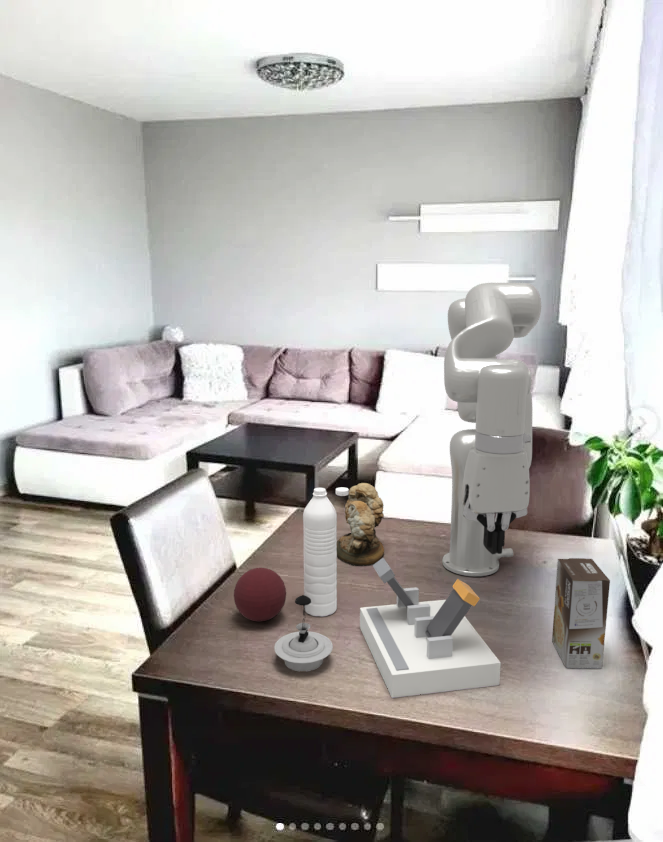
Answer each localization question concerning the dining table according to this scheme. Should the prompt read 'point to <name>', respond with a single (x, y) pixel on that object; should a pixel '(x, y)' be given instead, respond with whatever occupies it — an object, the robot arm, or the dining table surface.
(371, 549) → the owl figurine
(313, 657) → the gray round rimmed fixture
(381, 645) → the box
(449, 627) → the lever
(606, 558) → the dining table surface
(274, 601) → the decorative ball
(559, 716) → the dining table surface
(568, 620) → the coffee box
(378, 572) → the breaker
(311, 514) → the water bottle
